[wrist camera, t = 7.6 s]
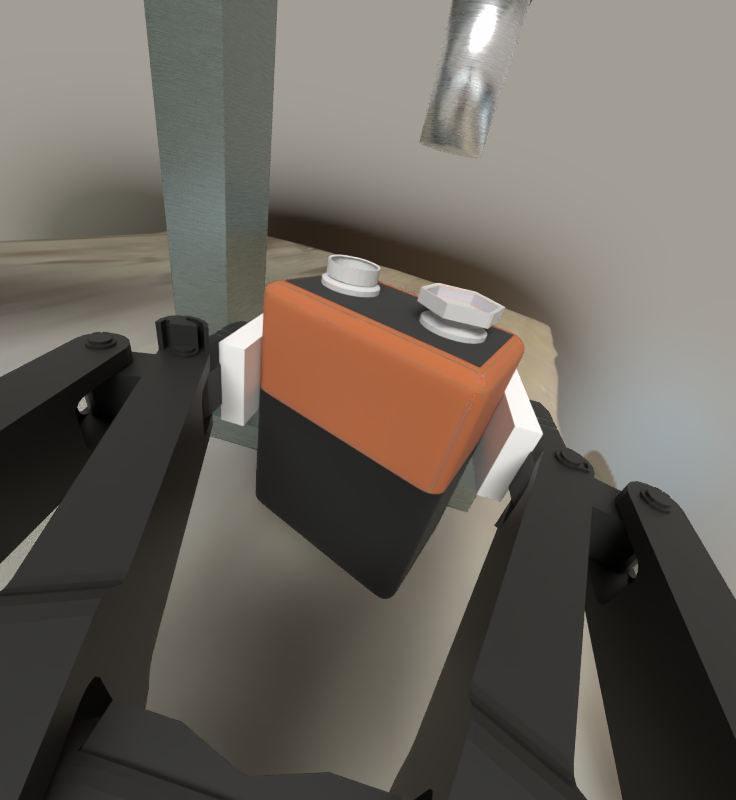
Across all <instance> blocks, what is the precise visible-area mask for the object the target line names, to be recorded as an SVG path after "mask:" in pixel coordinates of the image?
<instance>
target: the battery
mask: <svg viewBox="0 0 736 800" xmlns="http://www.w3.org/2000/svg"><path fill="white" fill-rule="evenodd" d="M379 274H380V267H379V266H378V265H376V264H374V263H372V262H369V261H367V260H364V259H360V258H356V257H351V256H346V255H331V256H329V259H328V266H327V272H326V273H324V274H323V275H318V276H310V277H303V278H295V279H287V280H280V281H275V282H272V283H270V284H269V285H268V286H267V287H266V289H265V292H264V308H263V331H262V354H261V377H260V400H259V423H258V446H257V469H256V497H257V498H258V500H259V501H260V502H261V503H262V504H264V505H265V506H266V507H267V508H269V509H270V510H271V511H272V512H273V513H275V514H276V515H277V516H278V517H280V518H281V519H282V520H283V521H285V522H286V523H287V524H288V525H289V526H291V527H292V528H293V529H294V530H296V531H297V532H298V533H299V534H301V535H302V536H303V537H304V538H306V539H307V540H308V541H309V542H311V543H312V544H313V545H314V546H315V547H317V548H318V549H319V550H320V551H322V552H323V553H324V554H325V555H327V556H328V557H329V558H330V559H332V560H333V561H334V562H335V563H336V564H338V565H339V566H340V567H341V568H343V569H344V570H345V571H346V572H348V573H349V574H350V575H351V576H353V577H354V578H355V579H356V580H357V581H359V582H360V583H361V584H362V585H364V586H365V587H366V588H367V589H369V590H370V591H371V592H373V593H374V594H375V595H377V596H378V597H380V598H383V599H387V598H390V597H392V596H393V595H394V594H395V592H396V591H397V590H398V588H399V586H400V585H401V583H402V582H403V580H404V578H405V577H406V575H407V574H408V572H409V570H410V569H411V567H412V565H413V564H414V562H415V561H416V559H417V557H418V556H419V554H420V553H421V551H422V549H423V548H424V546H425V545H426V543H427V541H428V540H429V538H430V536H431V535H432V533H433V532H434V530H435V528H436V526H437V524H438V523H439V521H440V519H441V517H442V515H443V513H444V511H445V509H446V507H447V505H448V503H449V501H450V499H451V497H452V495H453V493H454V491H455V489H456V487H457V485H458V483H459V481H460V479H461V477H462V475H463V473H464V471H465V469H466V467H467V465H468V463H469V461H470V459H471V457H472V455H473V453H474V451H475V449H476V447H477V445H478V443H479V441H480V439H481V437H482V435H483V434H484V432H485V430H486V428H487V426H488V424H489V422H490V420H491V418H492V416H493V414H494V412H495V410H496V408H497V406H498V404H499V402H500V400H501V398H502V396H503V394H504V392H505V390H506V388H507V386H508V384H509V382H510V380H511V378H512V376H513V374H514V372H515V370H516V368H517V366H518V364H519V362H520V360H521V358H522V356H523V353H524V344H523V342H522V340H521V339H520V338H519V337H518V336H517V335H515V334H513V333H511V332H509V331H507V330H504V329H502V328H499V327H497V326H494V324H495V323H497V322H498V321H499V320H500V318H501V316H502V313H503V311H504V309H505V307H504V306H502V305H500V304H498V303H496V302H494V301H492V300H490V299H488V298H487V297H485V296H483V295H481V294H479V293H477V292H474V291H470V290H465V289H461V288H457V287H453V286H449V285H445V284H441V283H435V284H431V285H427V286H424V287H421V290H420V293H419V296H417V295H414V294H412V293H409V292H406V291H404V290H401V289H399V288H396V287H394V286H391V285H388V284H386V283H383V282H381V281H378V278H379Z"/></svg>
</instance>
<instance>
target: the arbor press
mask: <svg viewBox="0 0 736 800" xmlns="http://www.w3.org/2000/svg"><path fill="white" fill-rule="evenodd" d="M531 1H532V0H452V5H451V9H450V13H449V17H448V21H447V26H446V30H445V34H444V39H443V43H442V47H441V51H440V56H439V60H438V64H437V68H436V73H435V77H434V81H433V86H432V90H431V95H430V98H429V103H428V107H427V111H426V116H425V120H424V124H423V128H422V133H421V137H420V141H419V143H420V144H422V145H424V146H427V147H429V148H433V149H436V150H439V151H443V152H446V153H451V154H455V155H460V156H465V157H471V158H481V155H482V152H483V148H484V146H485V142H486V139H487V136H488V133H489V129H490V126H491V123H492V120H493V117H494V114H495V111H496V108H497V105H498V102H499V98H500V95H501V92H502V89H503V86H504V83H505V80H506V76H507V73H508V70H509V67H510V64H511V61H512V58H513V54H514V51H515V48H516V45H517V42H518V39H519V35H520V32H521V29H522V26H523V23H524V20H525V17H526V13H527V11H528V7H529V6H530V3H531ZM144 7H145V17H146V26H147V37H148V47H149V56H150V66H151V76H152V86H153V96H154V106H155V115H156V126H157V135H158V146H159V155H160V165H161V175H162V185H163V195H164V205H165V215H166V225H167V234H168V244H169V254H170V264H171V274H172V284H173V294H174V304H175V314H176V315H181V316H191V317H197V318H199V319H202V320H204V321H205V322H207V323H208V328H209V336H210V335H212V334H215V332H217V331H219V330H221V329H222V328H224V327H225V326H227V325H229V324H231V323H235V322H239V321H245V322H248V323H249V322H251V321H252V320H254V319H255V318H257V317H258V316H260V315H261V314H263V308H264V292H265V272H266V249H267V227H268V226H267V225H268V204H269V179H270V157H271V135H272V133H271V132H272V112H273V90H274V66H275V44H276V21H277V0H144ZM258 423H259V409H258V410H257V411H256V412H255V413H254V415H253V416H252V417H251V418H250V419H249V420H248V421H247V423H246V424H245V425H244V426H241V425H238V424H235V423H231V422H228V421H224V420H221V405H220V406H219V407H218V408H217V409H216V410H215V411H214V412H213V426H212V430H211V434H210V436H213V437H216V438H219V439H223V440H226V441H230V442H233V443H236V444H240V445H243V446H246V447H250V448H253V449H257V446H258ZM476 495H477V494H476V485H475V475H474V466H473V456H472V457H471V459H470V461H469V463H468V465H467V467H466V469H465V471H464V473H463V475H462V477H461V479H460V481H459V483H458V485H457V487H456V489H455V491H454V493H453V495H452V497H451V499H450V501H449V503H448V505H447V506H449V507H453V508H456V509H459V510H463V511H466V512H467V511H468V509H469V508H470V506H471V504H472V502H473V500H474V499H475V497H476Z"/></svg>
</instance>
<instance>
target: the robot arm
mask: <svg viewBox="0 0 736 800" xmlns="http://www.w3.org/2000/svg"><path fill="white" fill-rule="evenodd" d="M155 323H156V330H157V338H158V345H159V350H158V352H157V353H156V354H148V353H138V352H131V346H130V341H129V339H127V338H126V337H125V336H122V335H119V334H113V333H109V332H102V333H101V332H95V333H93V334H87V335H83V336H80V337H77V338H75V339H73V340H71V341H69V342H67V343H65V344H63V345H62V346H60V347H58V348H56V349H54V350H52V351H50V352H48V353H46V354H44V355H42V356H40V357H38V358H36V359H34V360H33V361H31V362H29V363H27V364H25V365H23V366H21V367H19V368H17V369H15V370H13V371H11V372H9V373H7V374H6V375H4V376H2V377H0V563H1V562H2V561H3V560H4V559H5V558H6V557H7V556H8V555H9V554H10V553H11V552H12V551H13V550H14V549H15V548H16V547H17V546H18V545H19V544H20V543H21V542H22V541H23V540H24V539H25V538H26V537H27V536H28V535H29V534H30V533H31V532H32V531H33V530H34V529H35V528H36V527H37V526H38V525H39V524H40V523H41V522H42V521H43V520H44V519H45V518H46V517H47V516H48V515H49V514H50V513H51V512H52V511H53V510H54V509H55V508H56V507H57V506H58V505H59V504H60V505H59V506H58V508H57V509H56V511H55V513H54V514H53V516H52V517H51V519H50V520H49V522H48V524H47V525H46V527H45V528H44V530H43V531H42V533H41V534H40V536H39V538H38V539H37V541H36V542H35V544H34V545H33V547H32V548H31V550H30V552H29V553H28V555H27V556H26V558H25V559H24V561H23V563H22V564H21V566H20V567H19V569H18V570H17V572H16V573H15V575H14V577H13V578H12V580H11V581H10V582H9V583H8V585H7V586H6V587H5V588H4V589H3V590H1V591H0V800H587V799H586V798H585V796H584V795H583V794H582V793H581V791H580V790H579V789H578V787H577V786H576V782H575V778H574V751H575V737H576V723H577V709H578V696H579V682H580V668H581V654H582V640H583V626H584V612H585V613H586V618H587V623H588V628H589V633H590V638H591V643H592V648H593V653H594V658H595V663H596V668H597V673H598V678H599V683H600V688H601V693H602V698H603V703H604V708H605V714H606V719H607V724H608V729H609V734H610V739H611V744H612V749H613V754H614V759H615V764H616V769H617V774H618V779H619V784H620V789H621V794H622V799H623V800H736V599H735V598H734V596H733V594H732V593H731V591H730V589H729V588H728V586H727V584H726V583H725V581H724V579H723V577H722V576H721V574H720V573H719V571H718V569H717V567H716V565H715V564H714V562H713V560H712V559H711V557H710V555H709V554H708V552H707V550H706V549H705V547H704V545H703V544H702V542H701V540H700V538H699V537H698V535H697V533H696V532H695V530H694V528H693V526H692V525H691V523H690V521H689V520H688V518H687V516H686V515H685V513H684V511H683V510H682V509H681V508H680V506H679V505H678V504H677V503H676V502H675V501H674V500H672V499H671V498H670V496H669V495H668V494H666V493H665V492H662V490H660V489H658V488H656V487H652V486H650V485H648V484H645V483H641V482H638V481H636V482H630V483H629V484H628V485H627V486H626V487H625V488H624V489H623V490H622V491H620V490H618V489H615V488H613V487H611V486H609V485H607V484H605V483H603V482H601V481H599V480H597V479H595V478H594V470H593V467H592V466H591V465H590V463H589V462H588V461H587V460H586V459H585V458H584V457H582V456H581V455H580V454H578V453H576V452H575V451H573V450H571V449H569V448H566V446H565V444H564V442H563V440H562V438H561V436H560V434H559V431H558V430H557V427H556V425H555V423H554V422H553V419H552V417H551V415H550V413H549V411H548V410H547V409H546V408H545V407H544V406H543V405H542V404H541V403H539V402H536V401H532V400H529V399H528V396H527V394H526V391H525V389H524V386H523V384H522V382H521V379H520V377H519V374H518V372H517V369H516V370H515V372H514V374H513V376H512V378H511V380H510V382H509V384H508V386H507V388H506V390H505V392H504V394H503V396H502V398H501V400H500V402H499V404H498V406H497V408H496V410H495V412H494V414H493V416H492V418H491V420H490V422H489V424H488V426H487V428H486V430H485V432H484V434H483V435H482V437H481V439H480V441H479V443H478V445H477V447H476V449H475V451H474V453H473V455H472V456H473V466H474V475H475V485H476V494H477V495H480V496H483V497H486V498H490V499H493V500H497V501H500V502H501V500H502V499H503V497H504V495H505V494H506V492H507V491H508V489H509V491H510V495H511V501H510V502H509V504H508V506H507V507H506V509H505V510H504V512H503V513H502V515H501V516H500V518H499V519H498V521H497V522H496V524H495V525H494V526H496V527H497V531H496V534H495V536H494V539H493V541H492V544H491V546H490V549H489V551H488V554H487V557H486V559H485V562H484V564H483V567H482V569H481V572H480V575H479V577H478V580H477V582H476V585H475V587H474V590H473V593H472V595H471V598H470V600H469V603H468V605H467V608H466V610H465V613H464V616H463V618H462V621H461V623H460V626H459V628H458V631H457V634H456V636H455V639H454V641H453V644H452V646H451V649H450V652H449V654H448V657H447V659H446V662H445V664H444V667H443V670H442V672H441V675H440V677H439V680H438V682H437V685H436V687H435V690H434V693H433V695H432V698H431V700H430V703H429V705H428V708H427V711H426V713H425V716H424V718H423V721H422V723H421V726H420V729H419V731H418V734H417V736H416V739H415V741H414V743H413V746H412V748H411V750H410V752H409V754H408V756H407V758H406V760H405V762H404V764H403V765H402V767H401V769H400V771H399V773H398V775H397V777H396V779H395V781H394V783H393V785H392V787H391V790H390V792H389V793H388V792H386V791H383V790H380V789H377V788H374V787H371V786H368V785H365V784H362V783H359V782H356V781H353V780H350V779H347V778H345V777H342V776H339V775H336V774H333V773H330V772H323V773H304V774H285V775H266V776H247V775H244V774H242V773H240V772H239V771H237V770H236V769H235V768H234V767H233V766H232V765H231V764H229V763H228V762H227V761H226V760H225V759H224V758H223V757H221V756H220V755H219V754H218V753H217V752H216V751H215V750H213V749H212V748H211V747H210V746H209V745H208V744H207V743H205V742H204V741H203V740H202V739H201V738H200V737H199V736H197V735H196V734H195V733H194V732H193V731H192V730H191V729H189V728H188V727H187V726H186V725H185V724H184V723H183V722H181V721H178V720H175V719H172V718H169V717H166V716H163V715H160V714H157V713H154V712H151V711H148V710H146V709H145V707H146V702H147V696H148V689H149V674H150V664H151V658H152V654H153V650H154V646H155V642H156V638H157V634H158V631H159V627H160V623H161V619H162V616H163V612H164V608H165V604H166V600H167V597H168V593H169V589H170V585H171V581H172V578H173V574H174V570H175V566H176V562H177V559H178V555H179V551H180V547H181V544H182V540H183V536H184V532H185V528H186V525H187V521H188V517H189V513H190V509H191V506H192V502H193V498H194V494H195V491H196V487H197V483H198V479H199V475H200V472H201V468H202V464H203V460H204V456H205V453H206V449H207V445H208V441H209V437H210V434H211V430H212V426H213V412H214V411H215V410H216V409H217V408H218V407H219V406H220V405H221V420H224V421H228V422H231V423H235V424H238V425H241V426H244V425H245V424H246V423H247V421H248V420H249V419H250V418H251V417H252V416H253V415H254V413H255V412H256V411H257V410H258V409H259V400H260V377H261V354H262V331H263V314H261V315H260V316H258V317H257V318H255V319H254V320H252V321H251V322H249V323H248V322H245V321H239V322H235V323H231V324H229V325H227V326H225V327H224V328H222V329H221V330H219V331H217V332H215V334H212V335H210V336H209V328H208V323H207V322H205V321H204V320H202V319H199V318H197V317H191V316H181V315H176V316H167V317H164V318H160V319H159V320H157V321H156V322H155ZM84 396H85V399H86V402H87V406H88V407H87V408H85V409H84V410H83V411H81V412H79V410H78V408H77V406H78V403H79V401H80V400H81V399H82V398H83V397H84ZM637 564H638V573H637V575H635V572H634V569H633V567H635V566H636V565H637Z"/></svg>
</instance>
